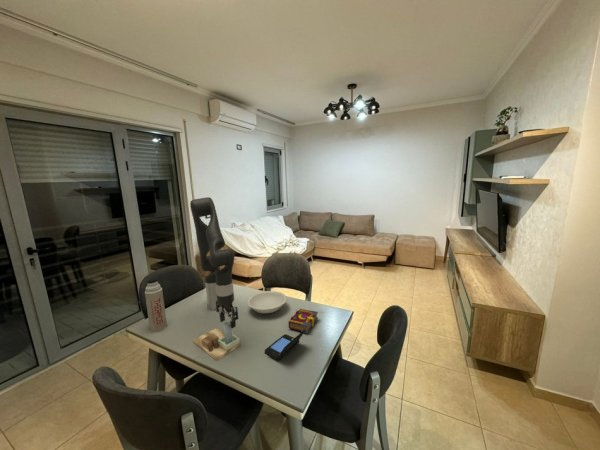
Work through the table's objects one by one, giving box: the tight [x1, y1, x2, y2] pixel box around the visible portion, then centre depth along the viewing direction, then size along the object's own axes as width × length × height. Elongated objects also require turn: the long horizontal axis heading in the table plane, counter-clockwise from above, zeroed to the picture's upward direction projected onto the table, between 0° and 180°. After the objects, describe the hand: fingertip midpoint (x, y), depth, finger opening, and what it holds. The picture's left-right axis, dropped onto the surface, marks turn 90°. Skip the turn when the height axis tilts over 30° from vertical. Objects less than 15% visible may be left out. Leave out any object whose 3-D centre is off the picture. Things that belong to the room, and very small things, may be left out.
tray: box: [218, 333, 241, 351], centre depth 116 cm, size 7×7×2 cm
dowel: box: [223, 321, 233, 345], centre depth 115 cm, size 4×4×10 cm
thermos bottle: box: [144, 278, 168, 333], centre depth 130 cm, size 8×8×28 cm
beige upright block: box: [202, 334, 219, 349], centre depth 116 cm, size 6×5×3 cm
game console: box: [264, 330, 306, 361], centre depth 112 cm, size 16×14×9 cm
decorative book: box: [288, 308, 319, 334], centre depth 133 cm, size 11×16×5 cm
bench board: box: [192, 327, 241, 362], centre depth 118 cm, size 13×21×5 cm, turn 50°
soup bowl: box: [246, 290, 288, 314], centre depth 149 cm, size 24×24×7 cm
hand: (227, 324), depth 114 cm, fingers open, 8 cm apart
